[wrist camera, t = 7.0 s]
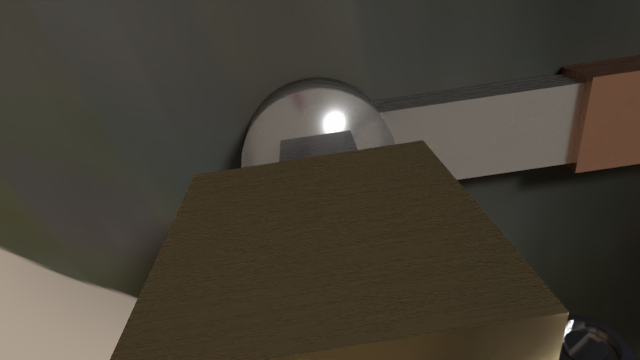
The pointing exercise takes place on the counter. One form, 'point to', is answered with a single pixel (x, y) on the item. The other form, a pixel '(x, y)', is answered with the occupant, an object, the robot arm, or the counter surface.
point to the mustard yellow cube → (340, 269)
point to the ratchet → (464, 121)
